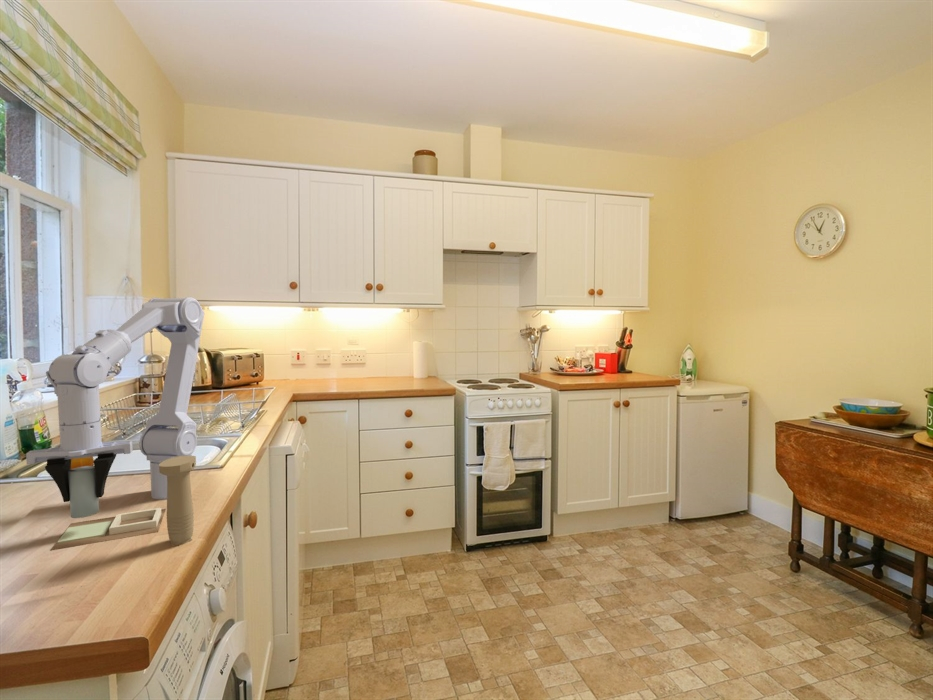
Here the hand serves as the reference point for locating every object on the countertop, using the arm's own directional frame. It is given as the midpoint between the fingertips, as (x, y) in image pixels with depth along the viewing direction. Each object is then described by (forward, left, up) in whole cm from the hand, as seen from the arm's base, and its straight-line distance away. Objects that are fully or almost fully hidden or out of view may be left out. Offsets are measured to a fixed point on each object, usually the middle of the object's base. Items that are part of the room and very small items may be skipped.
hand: (84, 498), depth 85 cm
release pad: (0, 0, -6) cm, 6 cm away
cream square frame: (0, +7, -6) cm, 10 cm away
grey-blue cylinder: (0, 0, -3) cm, 3 cm away
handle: (+12, +16, -8) cm, 21 cm away
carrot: (-17, -4, -8) cm, 19 cm away
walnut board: (0, +4, -7) cm, 8 cm away
